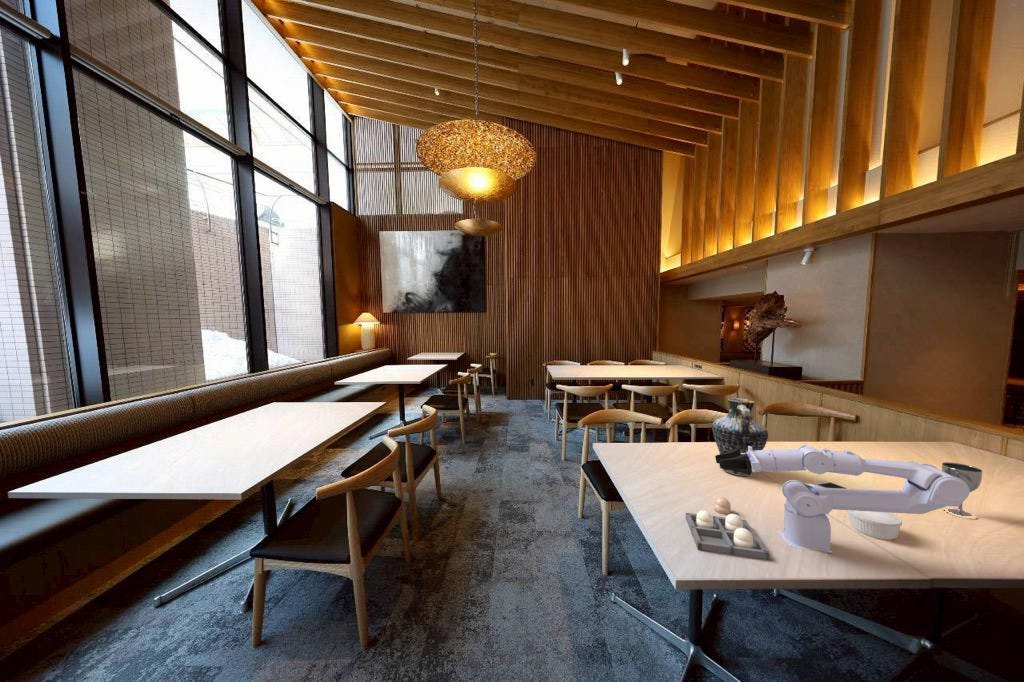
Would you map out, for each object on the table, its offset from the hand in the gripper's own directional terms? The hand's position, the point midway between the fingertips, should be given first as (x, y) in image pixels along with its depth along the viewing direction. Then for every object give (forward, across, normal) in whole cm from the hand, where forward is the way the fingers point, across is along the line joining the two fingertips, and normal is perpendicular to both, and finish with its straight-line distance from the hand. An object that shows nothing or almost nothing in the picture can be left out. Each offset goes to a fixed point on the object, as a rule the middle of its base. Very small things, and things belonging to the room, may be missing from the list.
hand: (717, 461), depth 105 cm
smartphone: (-42, -46, +21) cm, 66 cm away
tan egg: (0, -13, +18) cm, 23 cm away
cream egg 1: (+6, 0, +19) cm, 20 cm away
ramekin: (-38, -18, +24) cm, 49 cm away
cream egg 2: (-1, -1, +20) cm, 20 cm away
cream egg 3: (-2, +6, +21) cm, 22 cm away
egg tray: (+2, +3, +20) cm, 21 cm away
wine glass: (-69, -40, +26) cm, 84 cm away
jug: (-12, -52, +15) cm, 56 cm away
